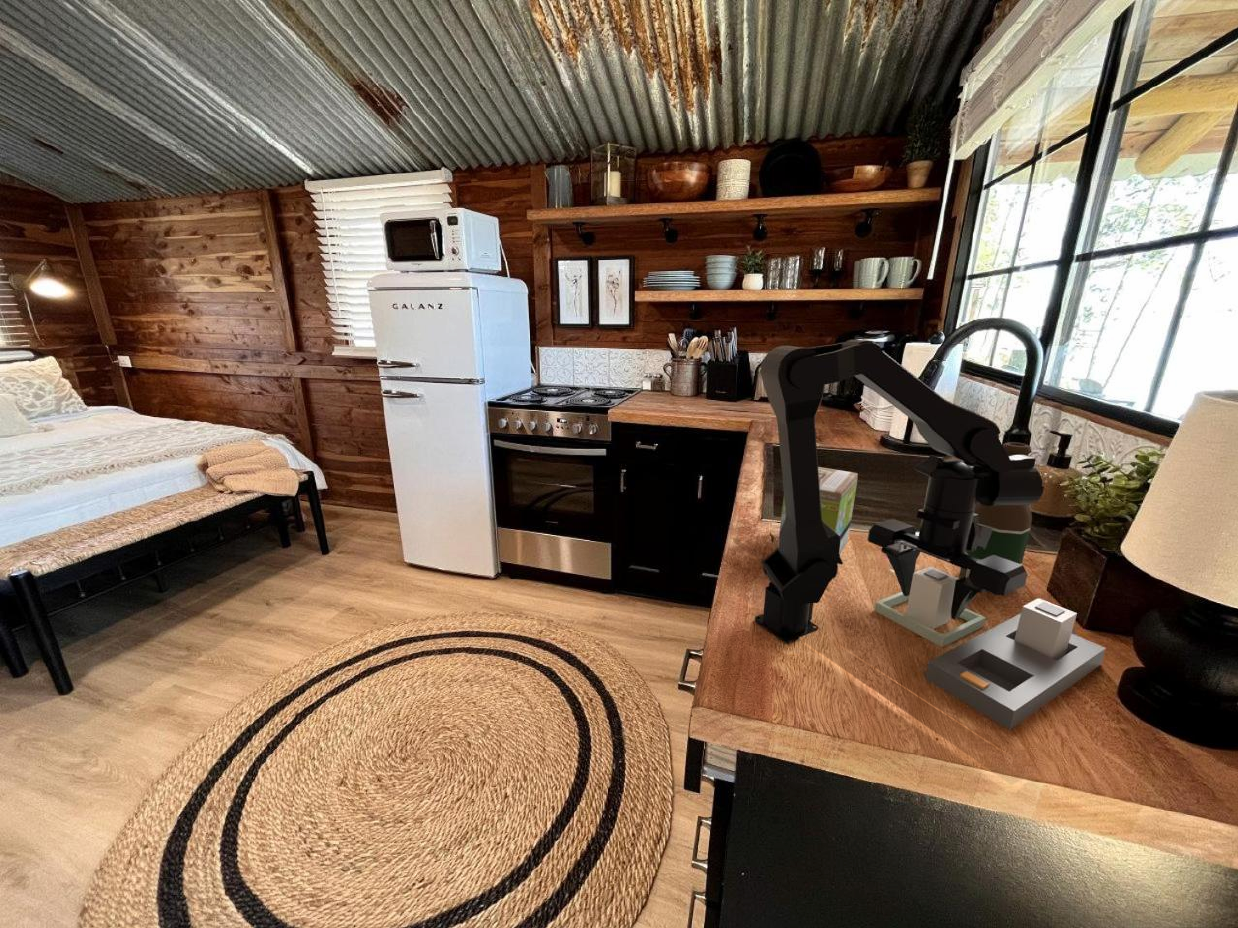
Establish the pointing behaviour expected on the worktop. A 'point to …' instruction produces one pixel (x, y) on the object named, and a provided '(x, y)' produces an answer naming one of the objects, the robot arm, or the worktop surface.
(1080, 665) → the strip
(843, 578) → the worktop surface
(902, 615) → the tray
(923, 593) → the iec plug
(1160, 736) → the worktop surface
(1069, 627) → the twin plug
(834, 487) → the tea box
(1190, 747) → the worktop surface
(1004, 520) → the beer bottle
